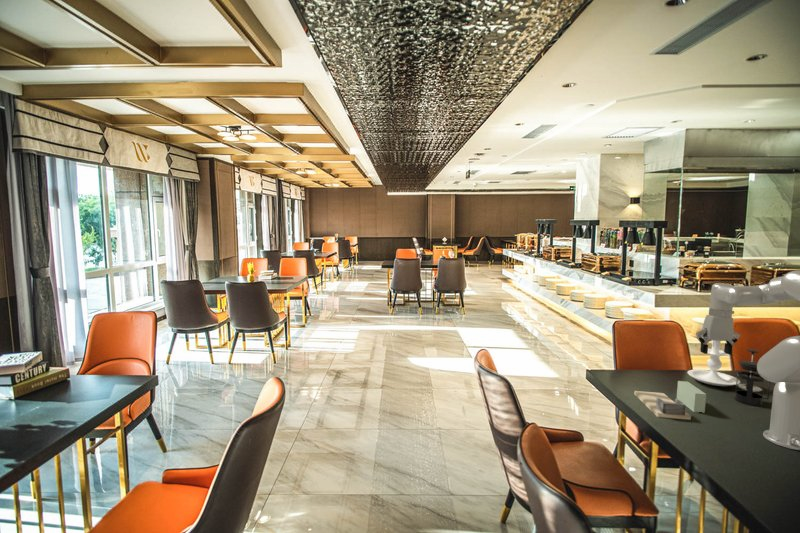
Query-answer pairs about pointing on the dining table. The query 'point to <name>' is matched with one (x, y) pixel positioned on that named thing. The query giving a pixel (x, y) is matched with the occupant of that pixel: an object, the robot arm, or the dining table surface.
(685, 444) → the dining table surface
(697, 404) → the pale green block
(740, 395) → the french press
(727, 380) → the candlestick
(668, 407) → the board
